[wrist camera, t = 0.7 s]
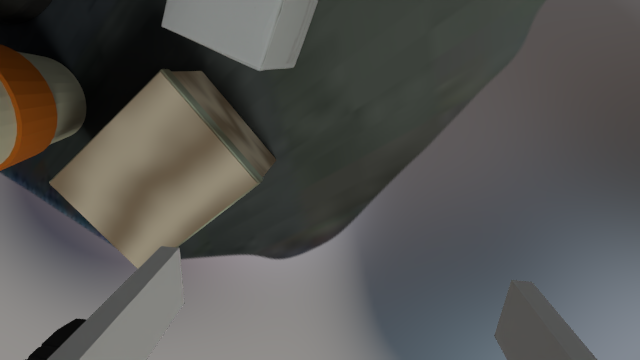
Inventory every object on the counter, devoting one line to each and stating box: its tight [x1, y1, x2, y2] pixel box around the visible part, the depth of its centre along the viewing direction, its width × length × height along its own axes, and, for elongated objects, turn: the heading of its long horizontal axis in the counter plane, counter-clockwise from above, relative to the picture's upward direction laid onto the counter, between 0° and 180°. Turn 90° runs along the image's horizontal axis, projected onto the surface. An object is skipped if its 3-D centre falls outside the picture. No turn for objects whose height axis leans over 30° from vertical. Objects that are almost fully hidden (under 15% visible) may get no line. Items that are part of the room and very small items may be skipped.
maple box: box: [49, 69, 276, 269], centre depth 34 cm, size 12×16×8 cm
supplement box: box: [162, 0, 318, 71], centre depth 27 cm, size 7×7×13 cm
